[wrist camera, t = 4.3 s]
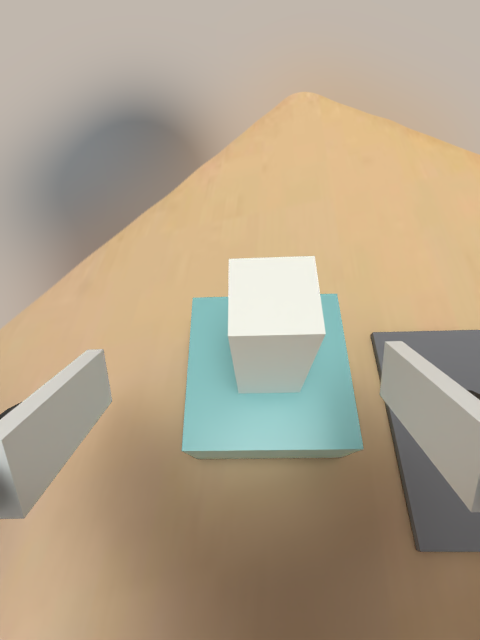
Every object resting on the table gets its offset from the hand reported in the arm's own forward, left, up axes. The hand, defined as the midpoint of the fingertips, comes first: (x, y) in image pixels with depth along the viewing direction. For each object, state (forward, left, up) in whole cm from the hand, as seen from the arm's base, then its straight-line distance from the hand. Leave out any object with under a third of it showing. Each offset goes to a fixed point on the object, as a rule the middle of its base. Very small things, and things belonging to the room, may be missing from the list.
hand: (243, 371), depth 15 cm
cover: (0, -3, -13) cm, 13 cm away
